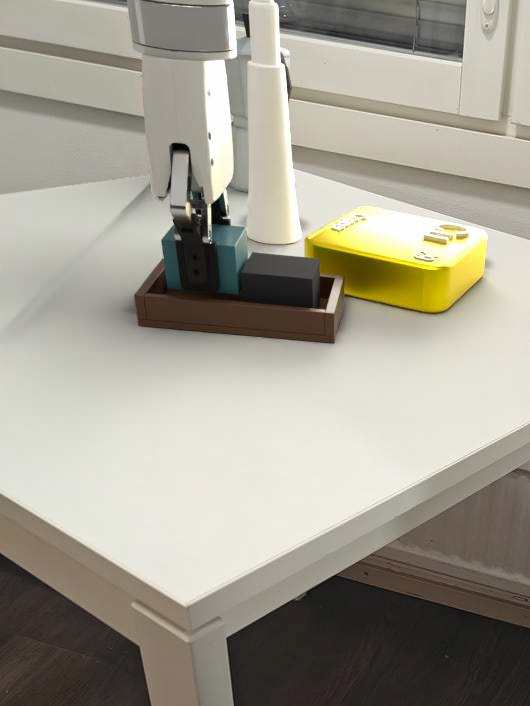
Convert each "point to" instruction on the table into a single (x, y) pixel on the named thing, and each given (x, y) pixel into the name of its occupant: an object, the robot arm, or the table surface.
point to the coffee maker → (244, 105)
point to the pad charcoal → (281, 280)
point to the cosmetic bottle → (269, 134)
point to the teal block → (228, 251)
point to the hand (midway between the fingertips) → (208, 274)
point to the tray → (238, 311)
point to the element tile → (400, 257)
